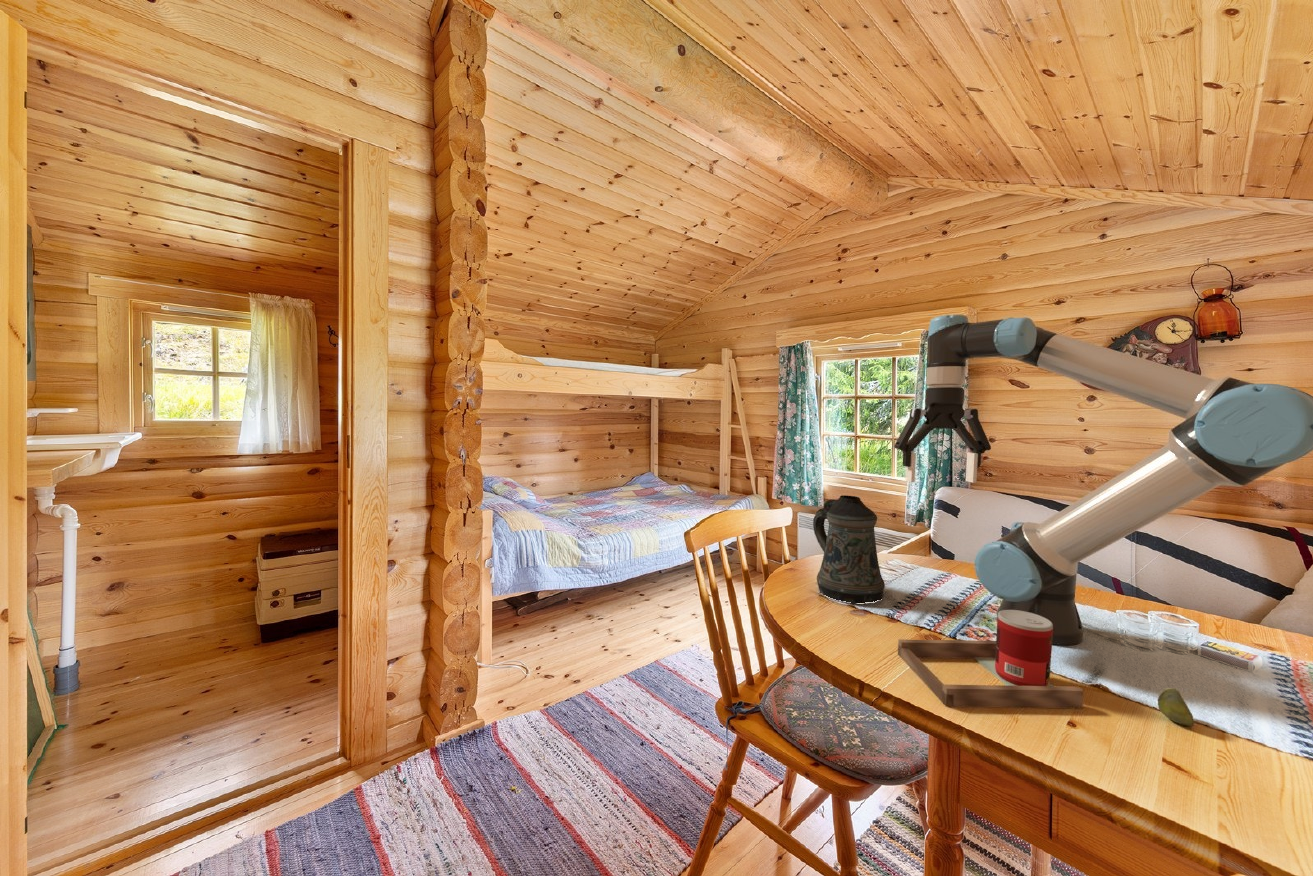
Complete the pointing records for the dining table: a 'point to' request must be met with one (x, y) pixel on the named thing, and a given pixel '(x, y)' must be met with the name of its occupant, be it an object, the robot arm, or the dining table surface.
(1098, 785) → the dining table surface
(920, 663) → the bay
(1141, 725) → the dining table surface
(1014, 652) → the canned food
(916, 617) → the dining table surface
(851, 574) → the beer stein
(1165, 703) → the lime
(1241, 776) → the dining table surface
